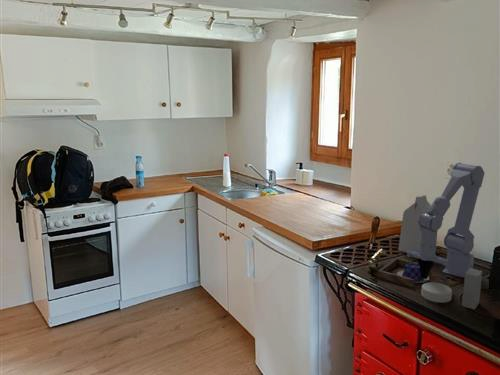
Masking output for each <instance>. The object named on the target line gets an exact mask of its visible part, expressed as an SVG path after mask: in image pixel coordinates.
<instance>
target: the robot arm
mask: <svg viewBox="0 0 500 375" xmlns="http://www.w3.org/2000/svg"><path fill="white" fill-rule="evenodd" d="M484 177H485V170H484V169H483V167H482V166H481V165H475V164H467V163H462V162H457V163H455V164H454V166H453V167H452V169H451V171H450V179H449V181H448V183H447V185H446V186H445V188H444V190H443V191H442V193H441V195H440V196H438V197H435V199H434V201H432V203H431V204H430V205H431V206H430V208H429V209H428V211H427V212H426V213H424V214H422V215H421V216H420V218H419V220H418V224H419V226H420V231H421V238H420V250H419V252H414V251H408V252H407V253H406V257H408V258H415V259H418V261H417V263H418V264H419V266H420V269H421V272H422V278H423V279H427V278H428V277H429V274H430V272H431V270H432V268H433V266H434V265H435V264H440V265H443V266H445V268H444V269H443V270H442V273H443V274H448V275H451V276H455V277H460V278H464V279H465V273H466V272H467V271H468V269H469V268H472V269H474V261H475V260H474V259H475V258H474V256H475V255H474V254H472V253H471V252H472V251H473V249H474V247H475V244H474V239H475V235H474V233H472V231H471V230H470V228H471V223H472V219H473V215H474V211H475V208H476V205H477V204H476V203H477V199H478V196H479V193H480V192H479V191H480V188H482V184H483V181H484ZM461 187H463V192H462V195H461V199H460V203H459V207H458V212H457V215H456V217H455V218H456V219H455V221H454V222H455V223H454V226H452V227H450V228H449V229H447V232H446V235H445V236H444V238H443V245H444V246H445V250H446V251H447V254H446V255H447V256H446V258H443V257H441V256H439V255H436V253H437V250H436V249H437V239H438V230H440V228H442V225H443V220H444V216H445V215H446V213H447V211H448V210H449V208H450V207H451V200H452V198H453V197H454V196H455V195H456V194H457V192H458V191H459V189H461Z"/></svg>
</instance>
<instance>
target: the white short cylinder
mask: <svg viewBox="0 0 500 375" xmlns="http://www.w3.org/2000/svg"><path fill="white" fill-rule="evenodd" d="M452 293H453V290H452V288H451V287H450V286H448V285H446V284H443V283H440V282H433V281H431V282H424V283H423V284H422V285H421V293H420V294H421V297H423V298H424V299H425V300H427V301H429V302H433V303H440V304H441V303H442V304H443V303H449V302H450V301H451V300H452V296H453V294H452Z"/></svg>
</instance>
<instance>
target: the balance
mask: <svg viewBox="0 0 500 375" xmlns="http://www.w3.org/2000/svg"><path fill="white" fill-rule="evenodd" d="M380 255H387V251H386V250H384V249H383V248H380V249H379V250H376V252H375V254H374V255H373V256H371V259H368V260H367V261H366V263H367V264H369V265H368V268H370V269H373V270H376V271H378V270H379V269H381V268H382V267H384V266H385V264H384V263H382V262H379V256H380Z"/></svg>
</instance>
